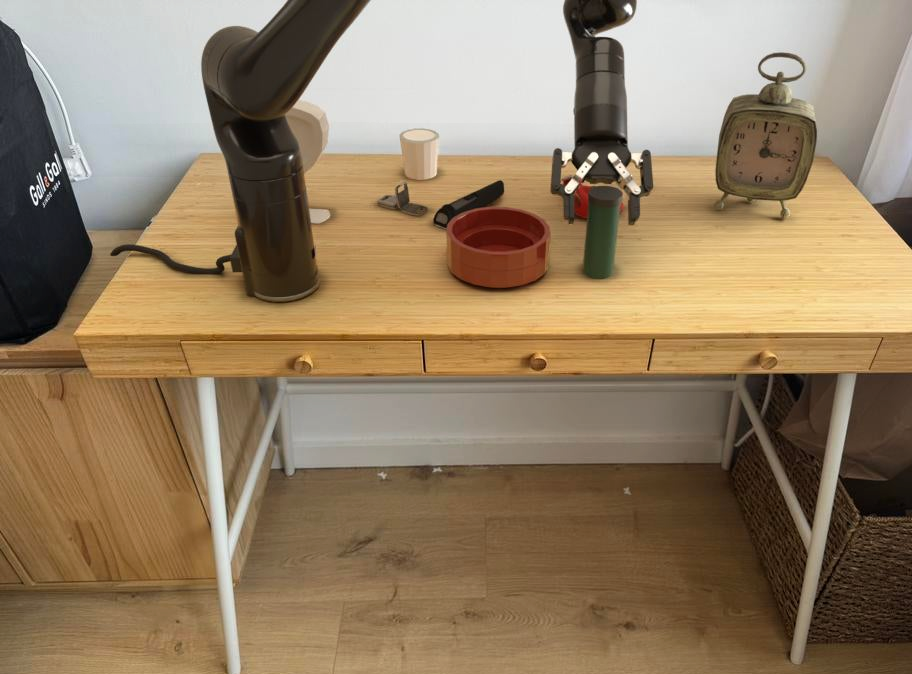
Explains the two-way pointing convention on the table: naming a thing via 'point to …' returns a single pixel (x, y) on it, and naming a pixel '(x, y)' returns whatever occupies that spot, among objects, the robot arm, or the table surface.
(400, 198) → the strap clip
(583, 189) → the tracker holder
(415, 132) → the shot glass
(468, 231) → the bowl
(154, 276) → the table surface
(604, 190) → the tube
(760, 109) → the tabletop clock
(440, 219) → the electric trimmer
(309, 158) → the heart sculpture
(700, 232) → the table surface
